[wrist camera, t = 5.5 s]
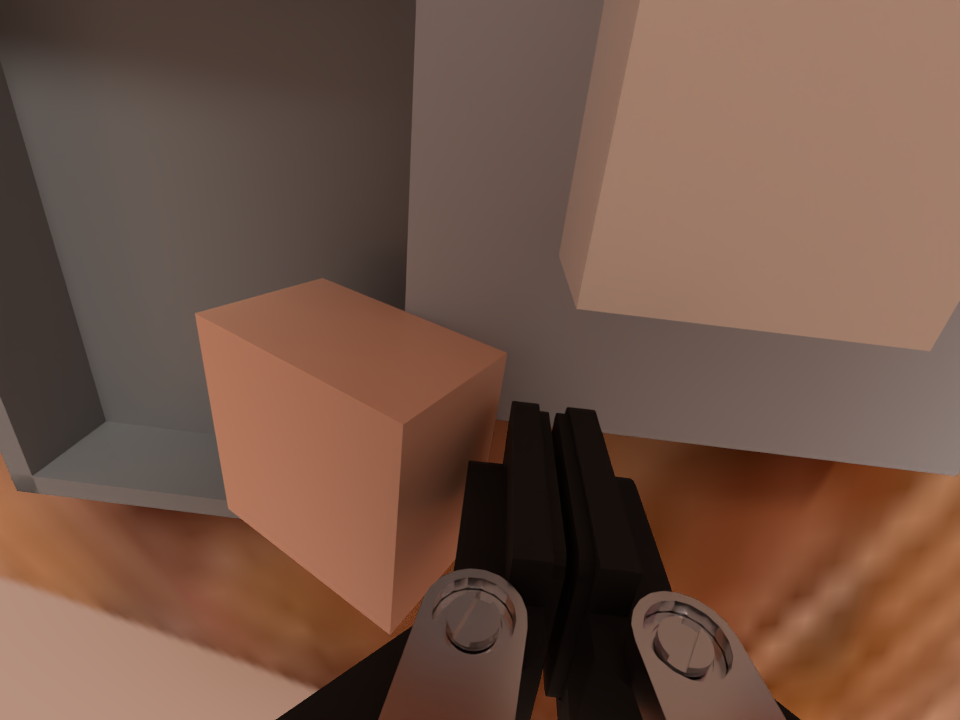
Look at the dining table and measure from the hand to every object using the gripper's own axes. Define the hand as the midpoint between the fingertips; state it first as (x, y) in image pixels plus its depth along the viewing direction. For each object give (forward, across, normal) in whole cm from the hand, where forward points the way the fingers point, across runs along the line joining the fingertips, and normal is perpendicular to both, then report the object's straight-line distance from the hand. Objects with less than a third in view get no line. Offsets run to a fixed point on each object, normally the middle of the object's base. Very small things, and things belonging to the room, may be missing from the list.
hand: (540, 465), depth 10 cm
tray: (+4, +8, -3) cm, 10 cm away
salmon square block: (+2, +3, 0) cm, 4 cm away
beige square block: (+1, -2, -6) cm, 7 cm away
